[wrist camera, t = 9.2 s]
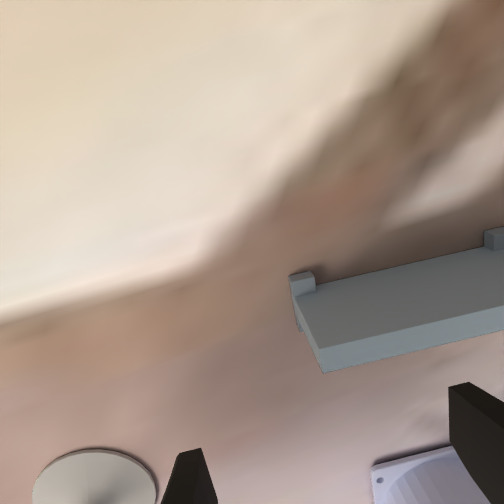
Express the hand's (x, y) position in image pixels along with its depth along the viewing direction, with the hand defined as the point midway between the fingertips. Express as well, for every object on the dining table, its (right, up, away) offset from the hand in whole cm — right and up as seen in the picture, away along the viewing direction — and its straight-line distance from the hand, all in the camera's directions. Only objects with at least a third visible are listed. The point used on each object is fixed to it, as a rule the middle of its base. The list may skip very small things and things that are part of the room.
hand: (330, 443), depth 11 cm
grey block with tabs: (+6, +4, +10) cm, 13 cm away
